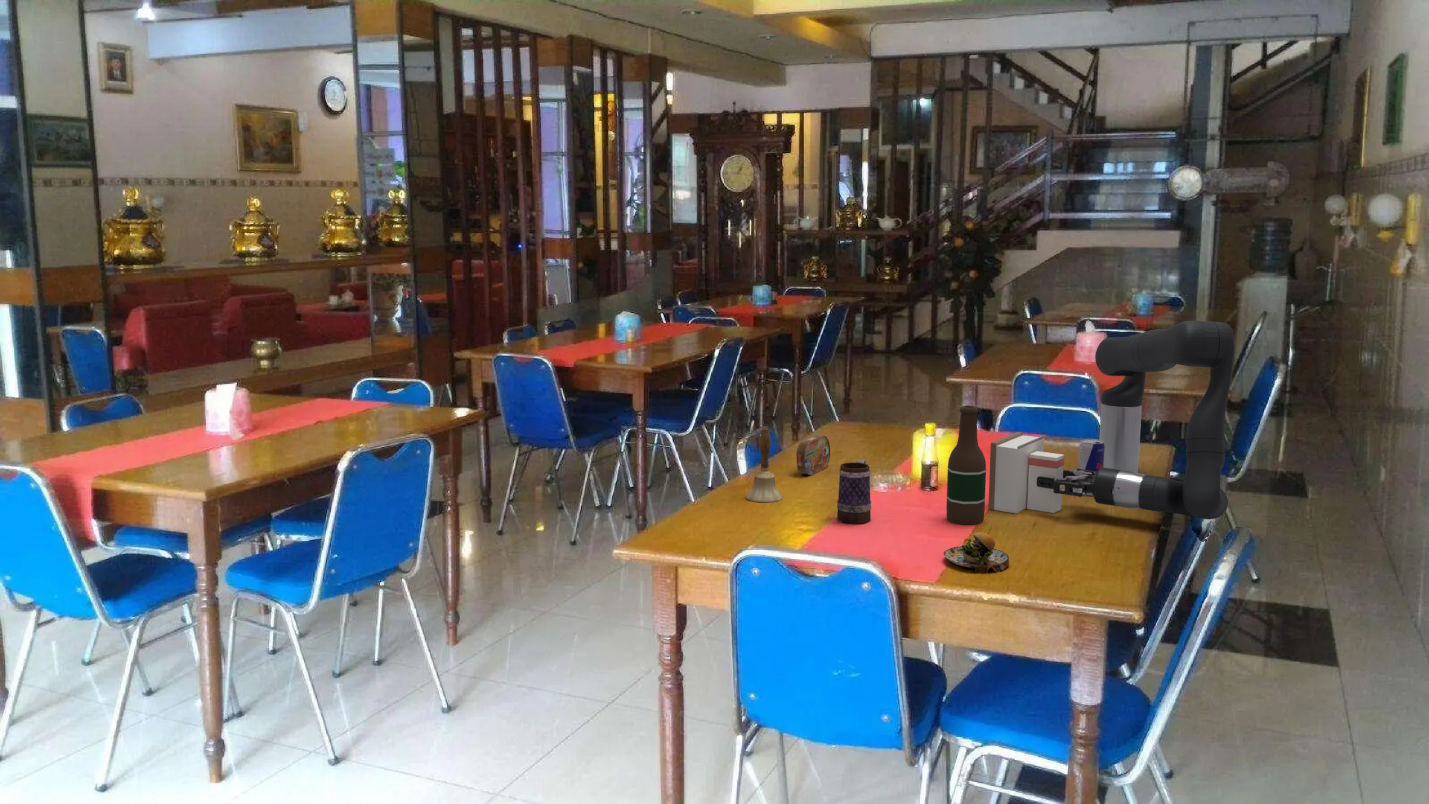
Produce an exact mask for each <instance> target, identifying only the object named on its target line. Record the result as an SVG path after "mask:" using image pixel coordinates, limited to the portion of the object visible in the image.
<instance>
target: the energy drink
mask: <svg viewBox="0 0 1429 804" xmlns="http://www.w3.org/2000/svg"><path fill="white" fill-rule="evenodd" d="M1104 449H1105V445H1104V442H1103V441H1101V440H1099V439H1093V438H1084V439H1081V440H1080V443H1079V451H1078V452H1079V453H1078V468H1077V469H1079V468H1080V469H1085V470H1091V471H1097V472H1098V470H1099V469H1101V468H1103V467H1104ZM1083 496H1090V497H1094V496H1093V494H1092V493H1087V494H1083Z"/></svg>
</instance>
